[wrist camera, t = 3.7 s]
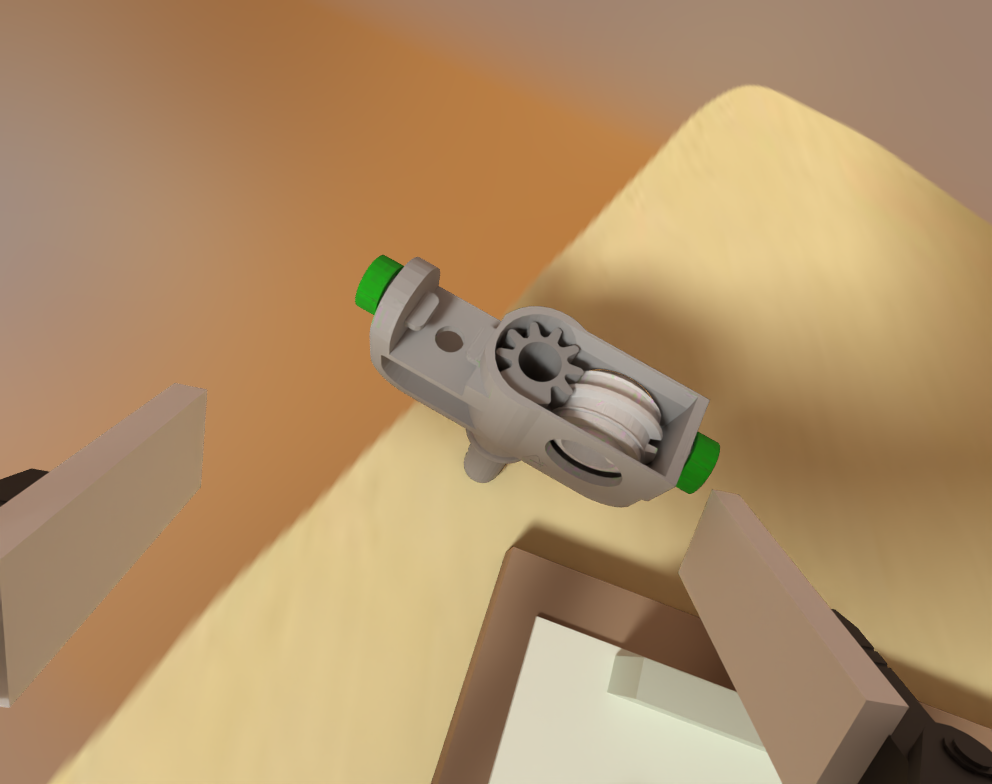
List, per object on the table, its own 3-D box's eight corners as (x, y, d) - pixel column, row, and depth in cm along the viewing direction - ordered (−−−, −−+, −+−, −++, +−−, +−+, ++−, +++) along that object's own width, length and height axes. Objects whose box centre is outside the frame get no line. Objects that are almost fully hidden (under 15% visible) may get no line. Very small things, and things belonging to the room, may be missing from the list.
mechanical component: (394, 374, 25) (401, 221, 16) (606, 495, 24) (739, 410, 15) (355, 431, 24) (337, 299, 14) (577, 560, 23) (703, 508, 14)
